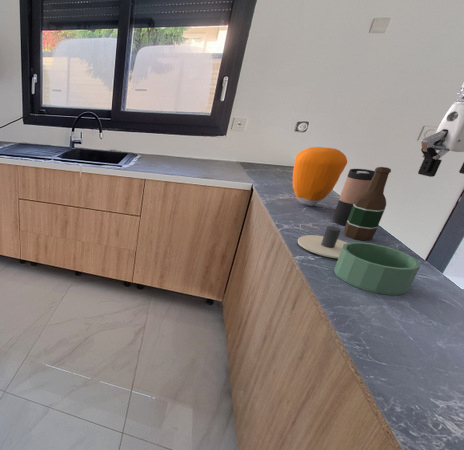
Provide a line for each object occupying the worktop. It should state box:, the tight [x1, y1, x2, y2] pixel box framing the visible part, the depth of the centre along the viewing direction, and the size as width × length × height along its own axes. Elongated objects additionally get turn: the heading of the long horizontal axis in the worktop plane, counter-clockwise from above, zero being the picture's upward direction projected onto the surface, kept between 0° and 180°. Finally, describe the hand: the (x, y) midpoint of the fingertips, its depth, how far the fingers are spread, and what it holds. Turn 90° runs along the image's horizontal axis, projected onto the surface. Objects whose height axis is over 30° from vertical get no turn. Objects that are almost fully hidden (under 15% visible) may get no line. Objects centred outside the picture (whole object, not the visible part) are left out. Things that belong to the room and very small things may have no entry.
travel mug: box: [332, 168, 375, 227], centre depth 114 cm, size 8×8×20 cm
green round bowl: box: [333, 241, 421, 296], centre depth 82 cm, size 15×15×8 cm
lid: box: [297, 225, 348, 260], centre depth 98 cm, size 16×16×7 cm
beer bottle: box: [343, 166, 392, 242], centre depth 103 cm, size 8×8×24 cm
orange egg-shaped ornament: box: [292, 146, 348, 207], centre depth 132 cm, size 17×17×25 cm
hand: (446, 174), depth 73 cm, fingers open, 9 cm apart
